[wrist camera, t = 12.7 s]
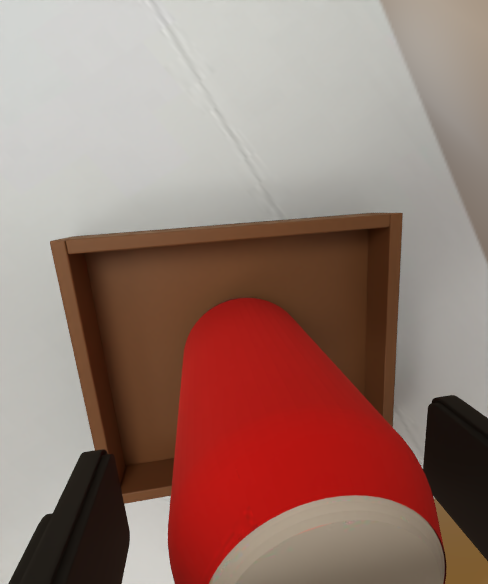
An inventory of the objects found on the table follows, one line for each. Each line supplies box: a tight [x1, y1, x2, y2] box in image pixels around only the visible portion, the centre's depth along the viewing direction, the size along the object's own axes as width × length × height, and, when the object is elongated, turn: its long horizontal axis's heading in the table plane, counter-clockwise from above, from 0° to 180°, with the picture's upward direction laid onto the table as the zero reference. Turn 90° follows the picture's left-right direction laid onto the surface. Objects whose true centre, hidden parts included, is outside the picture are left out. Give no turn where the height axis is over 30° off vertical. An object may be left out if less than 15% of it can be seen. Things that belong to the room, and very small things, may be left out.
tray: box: [50, 213, 403, 504], centre depth 17 cm, size 15×13×3 cm
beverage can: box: [168, 297, 446, 584], centre depth 12 cm, size 6×6×12 cm
